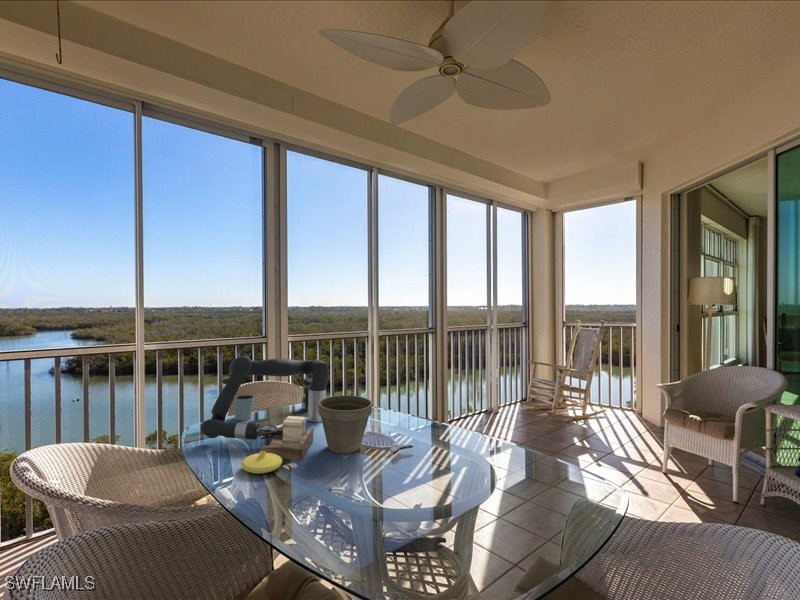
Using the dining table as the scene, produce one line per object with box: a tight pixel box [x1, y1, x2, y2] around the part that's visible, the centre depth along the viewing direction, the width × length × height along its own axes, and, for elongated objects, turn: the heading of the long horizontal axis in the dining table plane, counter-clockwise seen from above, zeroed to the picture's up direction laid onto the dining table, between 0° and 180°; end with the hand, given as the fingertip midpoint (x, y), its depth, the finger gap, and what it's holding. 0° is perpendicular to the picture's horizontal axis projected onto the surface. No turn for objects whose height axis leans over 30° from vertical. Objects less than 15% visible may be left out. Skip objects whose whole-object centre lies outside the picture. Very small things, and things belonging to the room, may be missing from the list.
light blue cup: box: [233, 394, 255, 422], centre depth 226 cm, size 10×10×12 cm
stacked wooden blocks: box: [282, 415, 307, 448], centre depth 188 cm, size 8×8×12 cm
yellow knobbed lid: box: [240, 450, 283, 475], centre depth 167 cm, size 16×16×7 cm
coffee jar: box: [301, 377, 313, 411], centre depth 250 cm, size 10×8×19 cm
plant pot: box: [318, 394, 373, 455], centre depth 193 cm, size 25×25×22 cm
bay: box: [260, 426, 315, 461], centre depth 188 cm, size 21×18×7 cm
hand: (285, 432), depth 188 cm, fingers closed
